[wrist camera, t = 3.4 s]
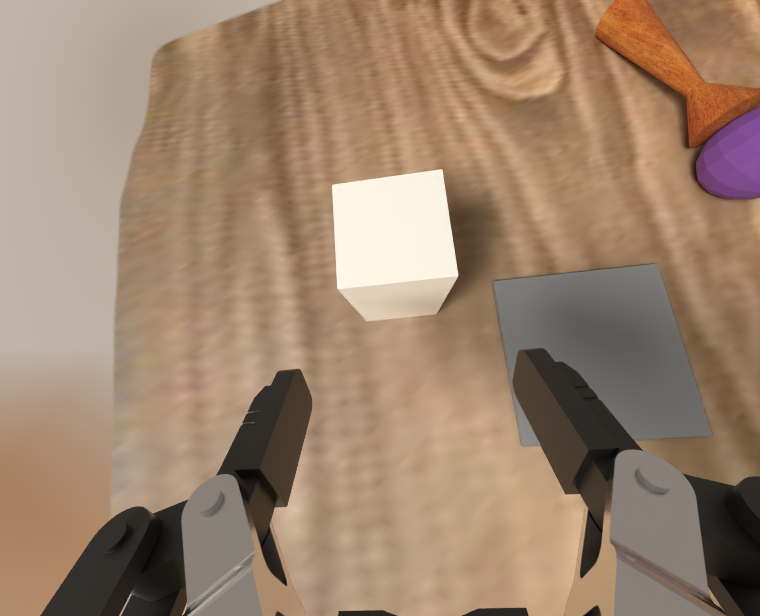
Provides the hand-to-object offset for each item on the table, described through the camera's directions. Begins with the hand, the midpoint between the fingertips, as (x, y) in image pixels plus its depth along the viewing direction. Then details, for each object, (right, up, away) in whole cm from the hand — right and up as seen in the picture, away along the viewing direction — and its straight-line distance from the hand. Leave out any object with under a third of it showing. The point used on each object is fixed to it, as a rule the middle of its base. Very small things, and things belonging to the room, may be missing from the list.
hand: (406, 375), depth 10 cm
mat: (+14, -1, +10) cm, 17 cm away
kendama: (+24, +19, +13) cm, 33 cm away
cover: (0, +4, +12) cm, 13 cm away
